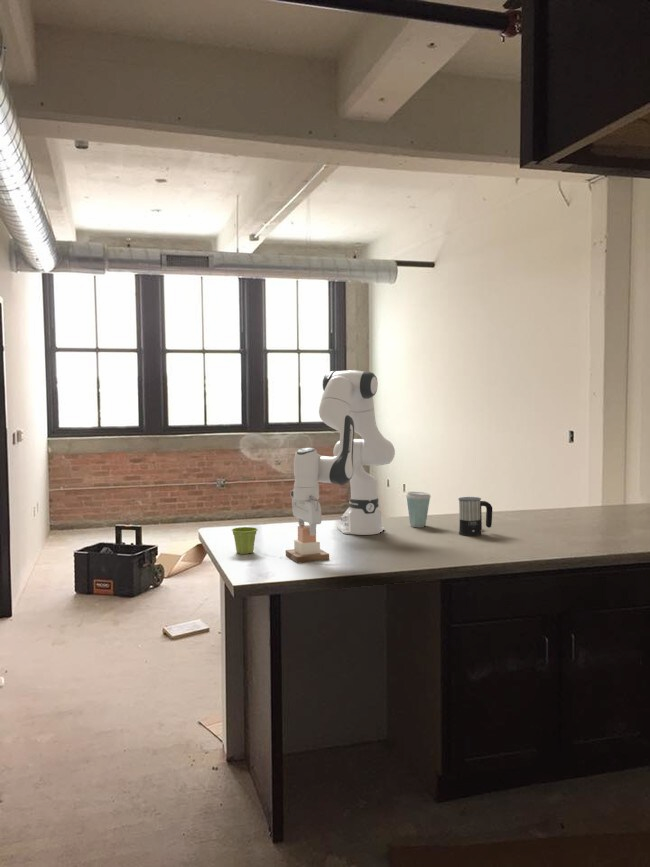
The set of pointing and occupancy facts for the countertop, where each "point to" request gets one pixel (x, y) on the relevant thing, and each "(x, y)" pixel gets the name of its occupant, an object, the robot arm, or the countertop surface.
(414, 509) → the disposable coffee cup
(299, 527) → the terracotta cube
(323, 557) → the walnut base
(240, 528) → the plant pot
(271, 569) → the countertop surface
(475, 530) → the milk frother
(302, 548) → the cream block
